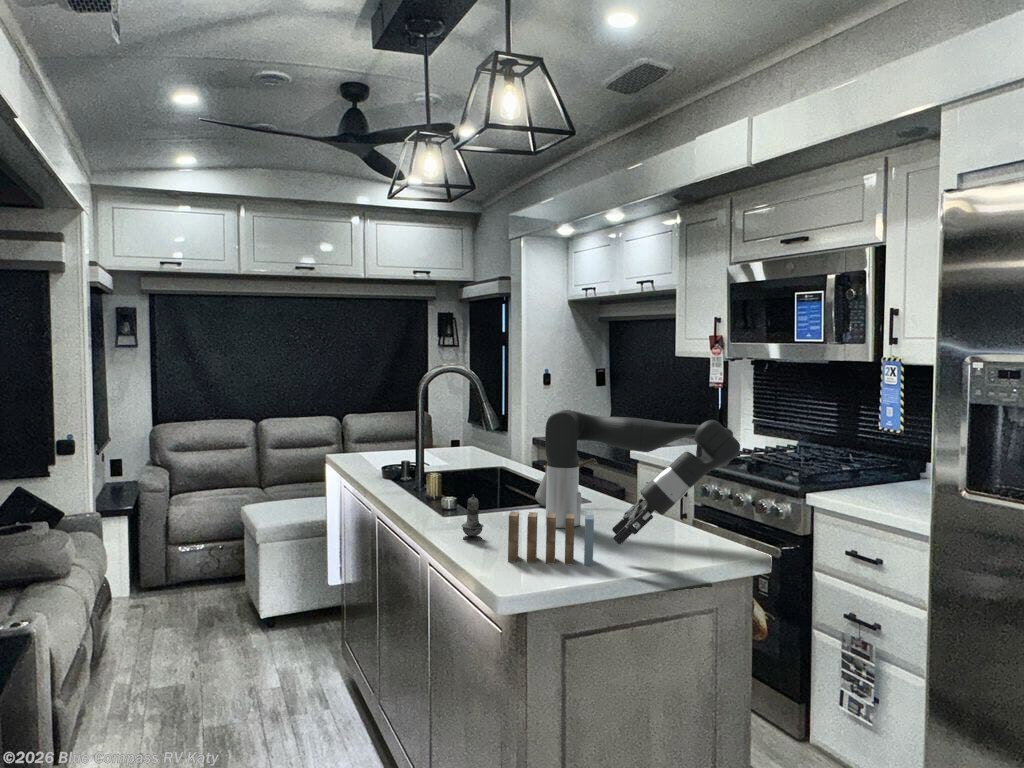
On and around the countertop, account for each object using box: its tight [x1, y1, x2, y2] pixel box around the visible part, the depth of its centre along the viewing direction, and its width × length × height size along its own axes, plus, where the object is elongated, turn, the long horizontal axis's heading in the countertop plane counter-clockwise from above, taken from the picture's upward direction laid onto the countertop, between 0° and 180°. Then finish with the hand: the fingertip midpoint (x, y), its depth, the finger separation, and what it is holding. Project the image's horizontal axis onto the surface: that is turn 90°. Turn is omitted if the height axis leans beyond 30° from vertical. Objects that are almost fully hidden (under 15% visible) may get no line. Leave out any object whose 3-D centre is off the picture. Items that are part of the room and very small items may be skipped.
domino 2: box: [526, 511, 538, 564], centre depth 178 cm, size 2×5×11 cm, turn 174°
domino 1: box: [507, 510, 520, 563], centre depth 179 cm, size 2×5×11 cm, turn 174°
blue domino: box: [583, 514, 595, 566], centre depth 177 cm, size 2×5×11 cm, turn 174°
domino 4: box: [564, 514, 575, 565], centre depth 177 cm, size 2×5×11 cm, turn 174°
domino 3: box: [545, 513, 557, 564], centre depth 178 cm, size 2×5×11 cm, turn 174°
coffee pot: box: [534, 457, 598, 508], centre depth 244 cm, size 21×12×15 cm, turn 112°
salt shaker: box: [461, 493, 485, 542], centre depth 197 cm, size 6×6×12 cm
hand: (615, 536), depth 176 cm, fingers open, 8 cm apart
